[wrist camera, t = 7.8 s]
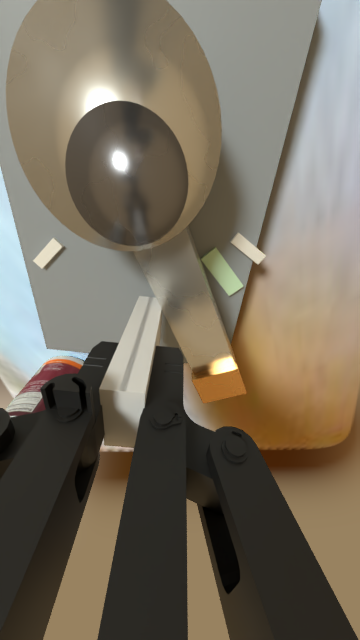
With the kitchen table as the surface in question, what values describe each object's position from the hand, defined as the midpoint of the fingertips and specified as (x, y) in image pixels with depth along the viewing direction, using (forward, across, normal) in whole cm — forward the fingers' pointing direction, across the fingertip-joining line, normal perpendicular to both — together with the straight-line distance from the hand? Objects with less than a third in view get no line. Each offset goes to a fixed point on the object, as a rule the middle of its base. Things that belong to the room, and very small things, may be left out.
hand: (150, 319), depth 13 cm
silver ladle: (+1, +1, +3) cm, 4 cm away
